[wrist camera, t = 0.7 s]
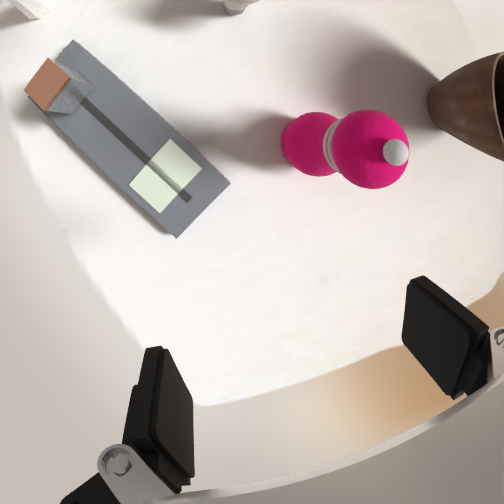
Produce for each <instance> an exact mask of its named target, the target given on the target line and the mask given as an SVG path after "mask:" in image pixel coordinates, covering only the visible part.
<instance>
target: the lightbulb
mask: <svg viewBox="0 0 504 504" xmlns="http://www.w3.org/2000/svg"><path fill="white" fill-rule="evenodd" d="M222 1H223V4H224V8H225V11H226V12H227V13H229V14H231V15H238V14H241V13H242V12H243V11H244V10H245V8H246V7H247V6H248V5H249V4H252V3H255V2H258V1H259V0H222Z"/></svg>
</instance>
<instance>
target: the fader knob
mask: <svg viewBox="0 0 504 504" xmlns="http://www.w3.org/2000/svg"><path fill="white" fill-rule="evenodd" d="M93 88H94V87H93V86H92V85H91V84H90V83H89V82H88V81H87V80H85V79H84V78H83V77H82V76H81V75H80V74H79V73H78V72H77V71H76V70H74V69H72V68H70V67H68V66H66V65H63V64H61V63H59V62H57V61H54V60H52V59H50V58H47V60H46V61H45V62H44V63H43V65H42V66H41V67H40V69H39V70H38V71H37V73H36V74H35V75H34V77H33V78H32V79H31V81H30V82H29V84H28V85H27V86H26V88H25V89H24V91H25V92H26V93H27V94H28V95H29V96H30V97H31V98H32V99H33V100H34V101H35V102H36V103H37V104H38V105H39V106H40V107H41V108H42V109H43V110H44V111H52V112H60V113H68V114H72V113H73V112H74V111H75V109H76V108H77V107H78V106H79V104H80V103H81V102H82V101H83V99H84V98H85V97H86V96H87V95H88V93H89V92H90V91H91V90H92V89H93Z"/></svg>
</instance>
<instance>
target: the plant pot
mask: <svg viewBox="0 0 504 504" xmlns="http://www.w3.org/2000/svg"><path fill="white" fill-rule="evenodd" d="M428 109H429V112H430V115H431V118H432V119H433V121H434V123H435V124H436V125H437V126H438V127H439V128H441V129H442V130H444V131H445V132H447V133H449V134H450V135H452V136H454V137H455V138H457V139H459V140H461V141H462V142H464V143H466V144H468V145H470V146H472V147H474V148H476V149H478V150H480V151H482V152H484V153H486V154H488V155H490V156H492V157H495V158H497V159H499V160H501V161H504V52H500V53H497V54H493V55H490V56H487V57H484V58H481V59H478V60H476V61H474V62H471V63H469V64H467V65H465V66H463V67H461V68H460V69H458V70H456V71H454V72H453V73H451V74H450V75H448V76H447V77H445V78H444V79H443V80H441V81H440V82H439V83H438V84H436V85H435V86H434V87H433V88H432V89H431V90H430V93H429V95H428Z"/></svg>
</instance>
